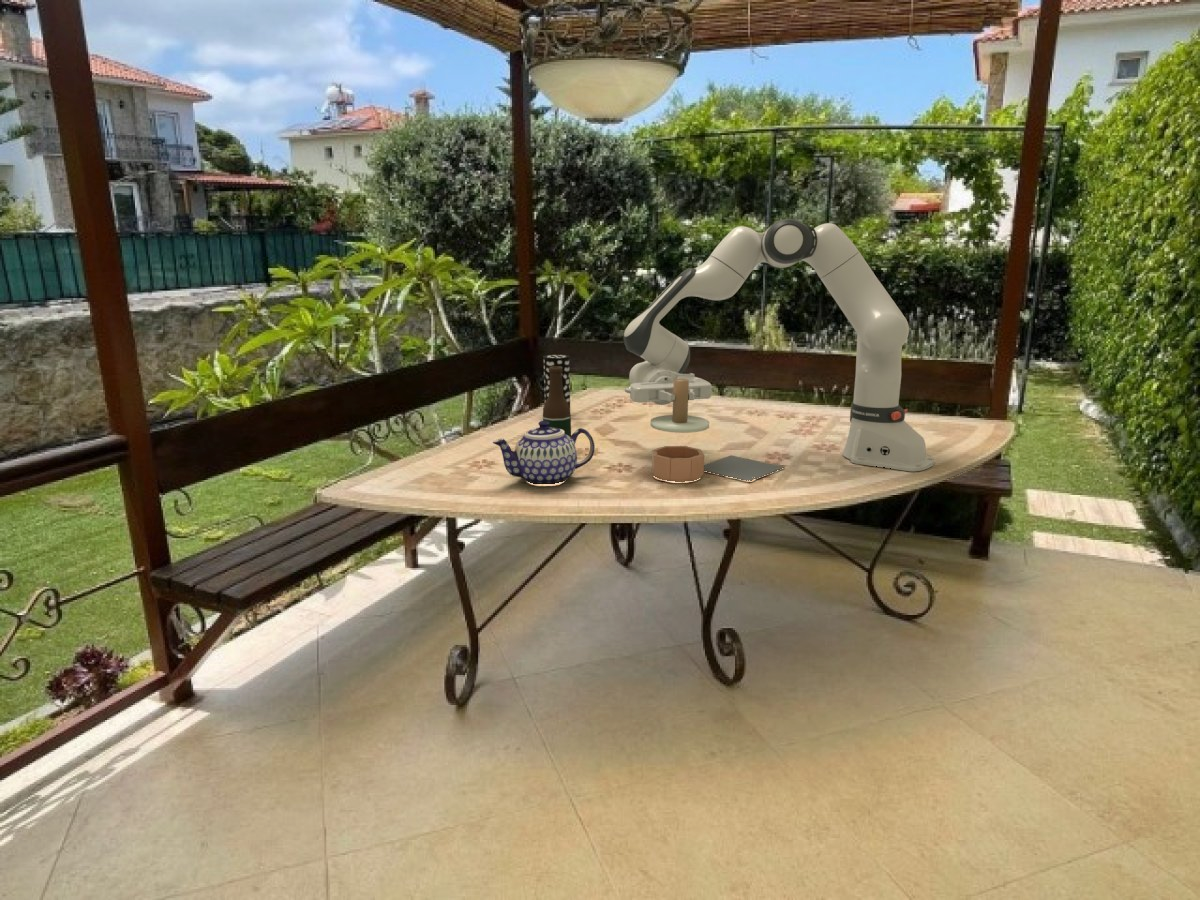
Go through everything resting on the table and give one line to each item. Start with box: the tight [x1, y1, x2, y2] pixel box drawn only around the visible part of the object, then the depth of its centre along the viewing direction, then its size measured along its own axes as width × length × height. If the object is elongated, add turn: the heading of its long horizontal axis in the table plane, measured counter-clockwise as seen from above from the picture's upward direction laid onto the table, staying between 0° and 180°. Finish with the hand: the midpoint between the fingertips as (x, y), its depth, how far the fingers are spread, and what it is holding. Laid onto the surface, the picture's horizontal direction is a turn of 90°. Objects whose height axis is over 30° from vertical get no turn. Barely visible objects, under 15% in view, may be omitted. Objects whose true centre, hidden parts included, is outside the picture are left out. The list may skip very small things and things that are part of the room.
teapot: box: [492, 419, 595, 484], centre depth 176 cm, size 25×15×15 cm, turn 109°
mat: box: [704, 455, 786, 481], centre depth 186 cm, size 16×16×1 cm
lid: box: [650, 379, 710, 434], centre depth 177 cm, size 14×14×11 cm
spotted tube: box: [542, 354, 571, 409], centre depth 242 cm, size 8×8×20 cm
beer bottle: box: [542, 366, 572, 436], centre depth 196 cm, size 8×8×24 cm
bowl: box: [651, 445, 705, 482], centre depth 180 cm, size 12×12×6 cm
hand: (682, 397), depth 175 cm, fingers closed on lid, 4 cm apart
